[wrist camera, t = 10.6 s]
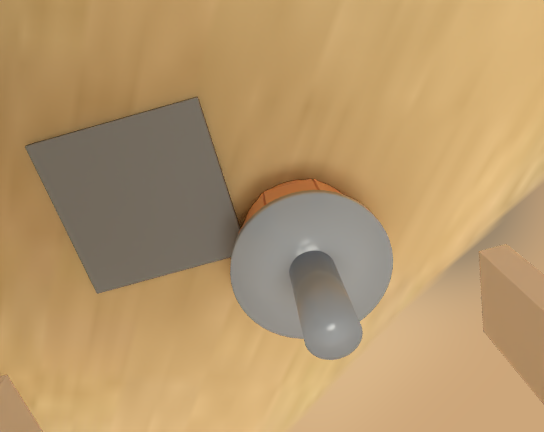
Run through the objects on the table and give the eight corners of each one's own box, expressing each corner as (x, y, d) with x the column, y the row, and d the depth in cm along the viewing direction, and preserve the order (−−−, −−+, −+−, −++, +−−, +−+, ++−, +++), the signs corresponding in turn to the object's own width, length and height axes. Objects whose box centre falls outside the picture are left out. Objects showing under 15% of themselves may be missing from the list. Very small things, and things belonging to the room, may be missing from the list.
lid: (209, 215, 34) (202, 277, 26) (374, 170, 34) (419, 217, 26) (255, 347, 39) (261, 434, 31) (399, 308, 39) (445, 385, 31)
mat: (27, 144, 37) (24, 146, 36) (197, 96, 36) (197, 97, 36) (98, 290, 42) (97, 293, 42) (247, 250, 42) (247, 252, 41)
